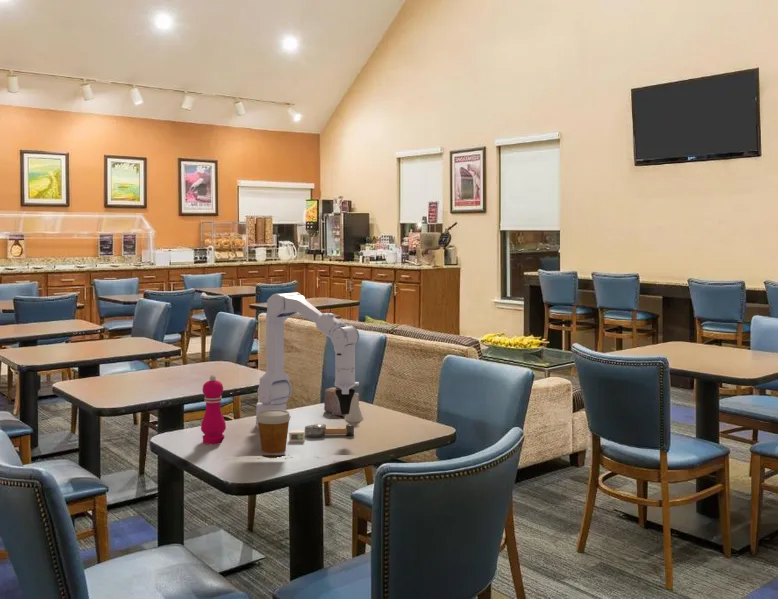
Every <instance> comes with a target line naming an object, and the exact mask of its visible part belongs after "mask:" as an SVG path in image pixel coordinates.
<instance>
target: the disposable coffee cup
mask: <svg viewBox="0 0 778 599" xmlns="http://www.w3.org/2000/svg"><path fill="white" fill-rule="evenodd" d="M291 418H292V417H291V415H290V412H289V411H288V410H287V409H286V410H278V409H273V410H264V411H260V412H258V415H257V417H256V416H255V420H256V419H257V421H258V426H259V428H258V433H259V440H260V447H261V451H262V453H265V454H263V455H262V457H263V458H268V459H278V458H277V457H279V458H283V457H285V456H284V455H285V454H280V453H284V452H286V448H287V442H288V435H289V433H288V432H289V423H290V421H291ZM282 456H283V457H282Z"/></svg>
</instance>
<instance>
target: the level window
mask: <svg viewBox="0 0 778 599" xmlns="http://www.w3.org/2000/svg"><path fill="white" fill-rule="evenodd" d="M288 432H289V433H288V435H289V436H288V437H289V438H288V442H289V443H298V442H299V443H304V442H305V441H306V437H305V429H304V430H303V429H302V430H296V429H295V430H294V429H293V430H289V431H288Z"/></svg>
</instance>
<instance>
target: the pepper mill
mask: <svg viewBox="0 0 778 599" xmlns="http://www.w3.org/2000/svg"><path fill="white" fill-rule="evenodd" d="M216 379H217V377H216V376H215V375H214V374H212V375H210V376H209V380H208V381H205V383H204V384H203V386H202V394H203V395H204V397H203V398H204V403H205V413H204V415H203V419H202V421H201V424H200V430H201V432H202V433H203V434H204V435H202V443H203V444H205V445H218V444H222V443H223V441H224V439H225V434H224V432H226V429H227V425H226V420H225V418H224V416H223V413H222V410H221V403H222V401H223V400H222V394H223V392H224V385H223V383H222V382H221V381H220V380H216Z"/></svg>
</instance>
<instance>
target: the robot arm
mask: <svg viewBox="0 0 778 599" xmlns="http://www.w3.org/2000/svg"><path fill="white" fill-rule="evenodd" d="M266 303H267V304H266V306H267V307H266V308H267V309H266V314H265V346H266V347H265V348H266V349H265V353H266V354H265V361H266V362H265V363H266V365H265V366H266V367H265V369H266V370H265V373H264V374H263V375H261V377H260V378H259V384H258V387H257V396H258V399H259V400H260V401H261V402H257V403H256V408H255V413H256V414H255V428H256V429H259V426H258V421H257V419H256V417H257V415H258V412H260V411H264V410H273V409H278V410H286V411H287V402H288V400H289V398H290V397H291V395H292V390H293V389H292V385H291V382H290V376H289V375H288V374H287V373H286V372H285V343H284V342H285V340H284V339H285V338H284V336H285V332H284V328H285V327H284V325H285V324H284V323H285V321H287V320H288V318H289V317H291V316H292V315H295V314H298V313H299V314H300V315H302V316H303V317H305V318H306V319H308V320H310V321H311V322H313V323H315V325H316V329H317V330H318V331H320V332H321V333H322V334H324V335H325V336H327V337H328V338H329V339H330V341H331V344H332V345H333V351H334V353H335V354H334V356H335V357H334V358H335V360H334V361H335V362H334V363H335V368H334V369H335V370H334V373H335V374H334V375H335V376H334V377H335V379H334V380H335V381H334V386H335V388H337V387H338V388H340V389H336V395H337V397H338V399H339V403H340V409H341V414H349V411H350V405H351V401H352V398H353V395H354V393H356V389H355V388H354V387H356V386H359V385H360V382H359V381H356V344H358V342H359V340H360V333H359V330H358V329H357V328H356V327H355V326H354V325H351V324H350V325H347V324H346V323H345V322H344V321H341V320H339V319H338V318H336V317H335V314H334V313H332V312H324V313H322V311H320V310H318V308H317V307H315V306H314V305H313V304H311V303H310V302H309V301H308V300H306V297H305V295H302V294H301V293H300V292H297V291H293V292H287V293H286V292H285V293H273V294H272V295H271V296H269V298H268V299H267V300H266Z"/></svg>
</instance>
